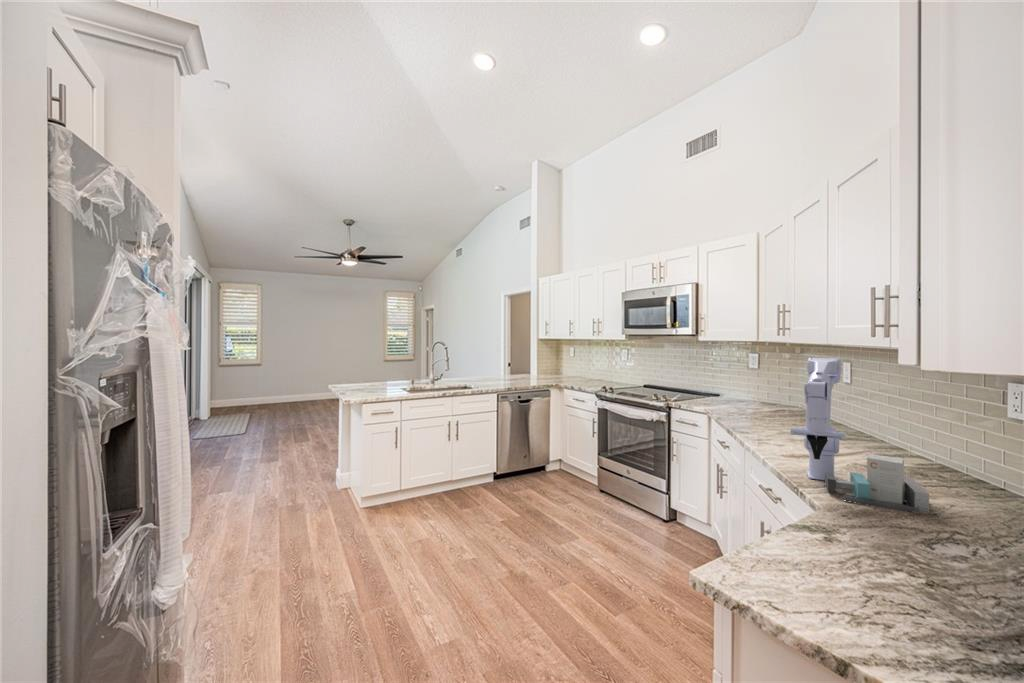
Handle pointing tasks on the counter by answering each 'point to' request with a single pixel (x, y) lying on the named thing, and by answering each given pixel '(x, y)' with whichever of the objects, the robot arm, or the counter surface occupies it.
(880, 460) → the small box
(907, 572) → the counter surface
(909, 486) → the vise
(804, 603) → the counter surface
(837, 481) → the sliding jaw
